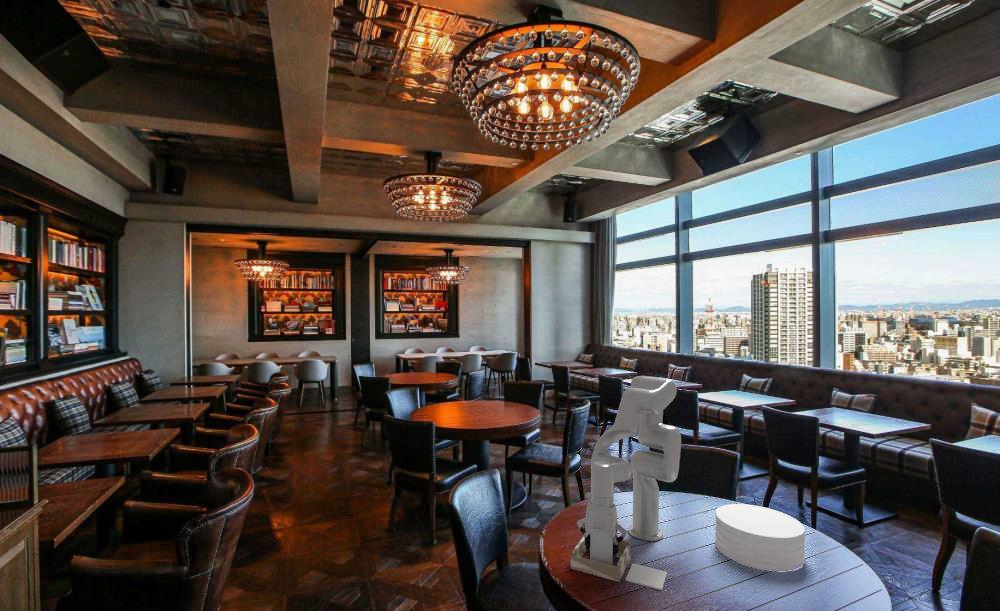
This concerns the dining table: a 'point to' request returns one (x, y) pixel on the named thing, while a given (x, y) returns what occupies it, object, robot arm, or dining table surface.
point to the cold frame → (599, 567)
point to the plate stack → (760, 537)
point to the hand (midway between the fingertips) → (601, 551)
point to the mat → (646, 576)
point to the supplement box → (601, 546)
